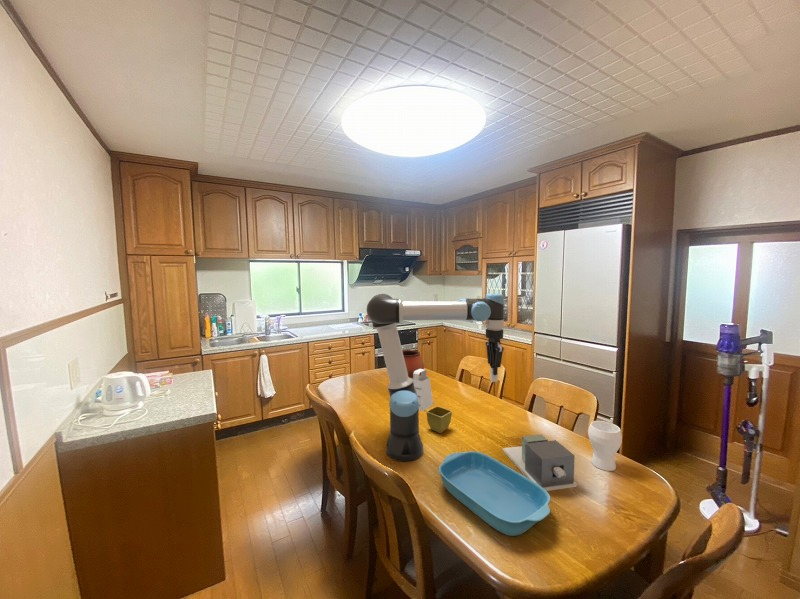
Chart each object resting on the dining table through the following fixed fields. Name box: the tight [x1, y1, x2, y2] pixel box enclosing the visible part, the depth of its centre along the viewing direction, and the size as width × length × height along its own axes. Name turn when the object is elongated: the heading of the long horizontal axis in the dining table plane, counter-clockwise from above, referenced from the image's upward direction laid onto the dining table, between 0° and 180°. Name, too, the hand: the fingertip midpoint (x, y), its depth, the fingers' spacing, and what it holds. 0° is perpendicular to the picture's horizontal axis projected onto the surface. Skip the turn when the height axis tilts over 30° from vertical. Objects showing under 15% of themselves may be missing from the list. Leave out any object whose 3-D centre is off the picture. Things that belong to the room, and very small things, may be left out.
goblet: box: [402, 349, 425, 378], centre depth 197 cm, size 19×19×25 cm
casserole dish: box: [438, 450, 551, 537], centre depth 104 cm, size 37×22×7 cm, turn 36°
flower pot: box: [426, 405, 453, 434], centre depth 150 cm, size 9×9×9 cm
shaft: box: [521, 434, 566, 480], centre depth 115 cm, size 18×8×9 cm, turn 10°
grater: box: [411, 368, 434, 412], centre depth 177 cm, size 10×10×20 cm
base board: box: [502, 445, 578, 492], centre depth 121 cm, size 26×14×1 cm, turn 10°
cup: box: [587, 420, 623, 472], centre depth 121 cm, size 11×11×15 cm
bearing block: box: [525, 439, 575, 488], centre depth 114 cm, size 10×12×10 cm
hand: (493, 381), depth 144 cm, fingers closed
